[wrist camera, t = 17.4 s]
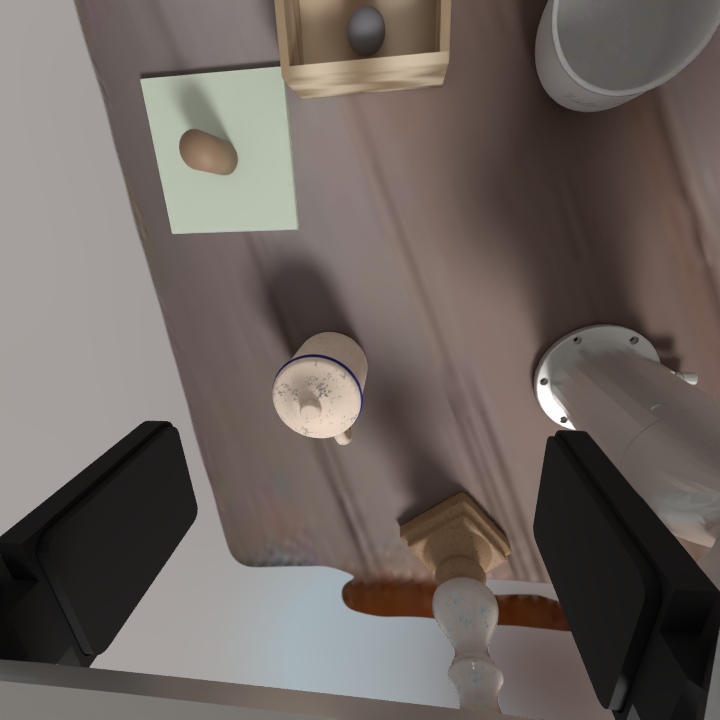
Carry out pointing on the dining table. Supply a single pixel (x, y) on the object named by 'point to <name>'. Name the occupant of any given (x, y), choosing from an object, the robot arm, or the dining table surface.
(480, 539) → the candle holder
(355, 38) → the ball
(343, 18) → the box
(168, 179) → the lid
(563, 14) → the teacup
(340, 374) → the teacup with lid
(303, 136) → the dining table surface
